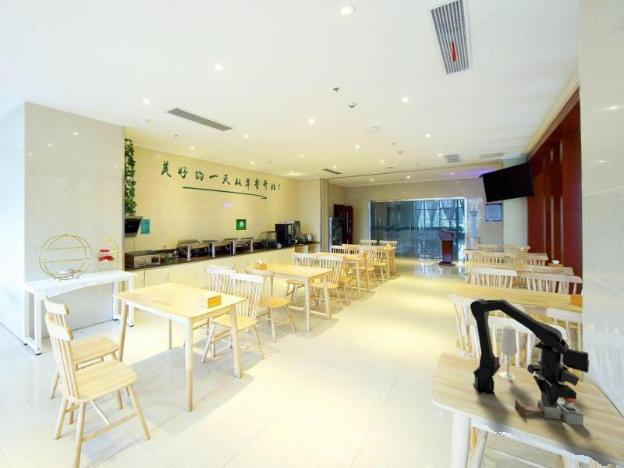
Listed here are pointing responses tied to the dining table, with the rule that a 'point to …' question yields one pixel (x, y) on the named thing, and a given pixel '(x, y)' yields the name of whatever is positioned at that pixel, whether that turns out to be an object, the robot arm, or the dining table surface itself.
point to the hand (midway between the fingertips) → (549, 402)
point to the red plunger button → (569, 403)
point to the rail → (530, 410)
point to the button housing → (571, 414)
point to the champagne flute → (508, 348)
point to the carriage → (548, 407)
